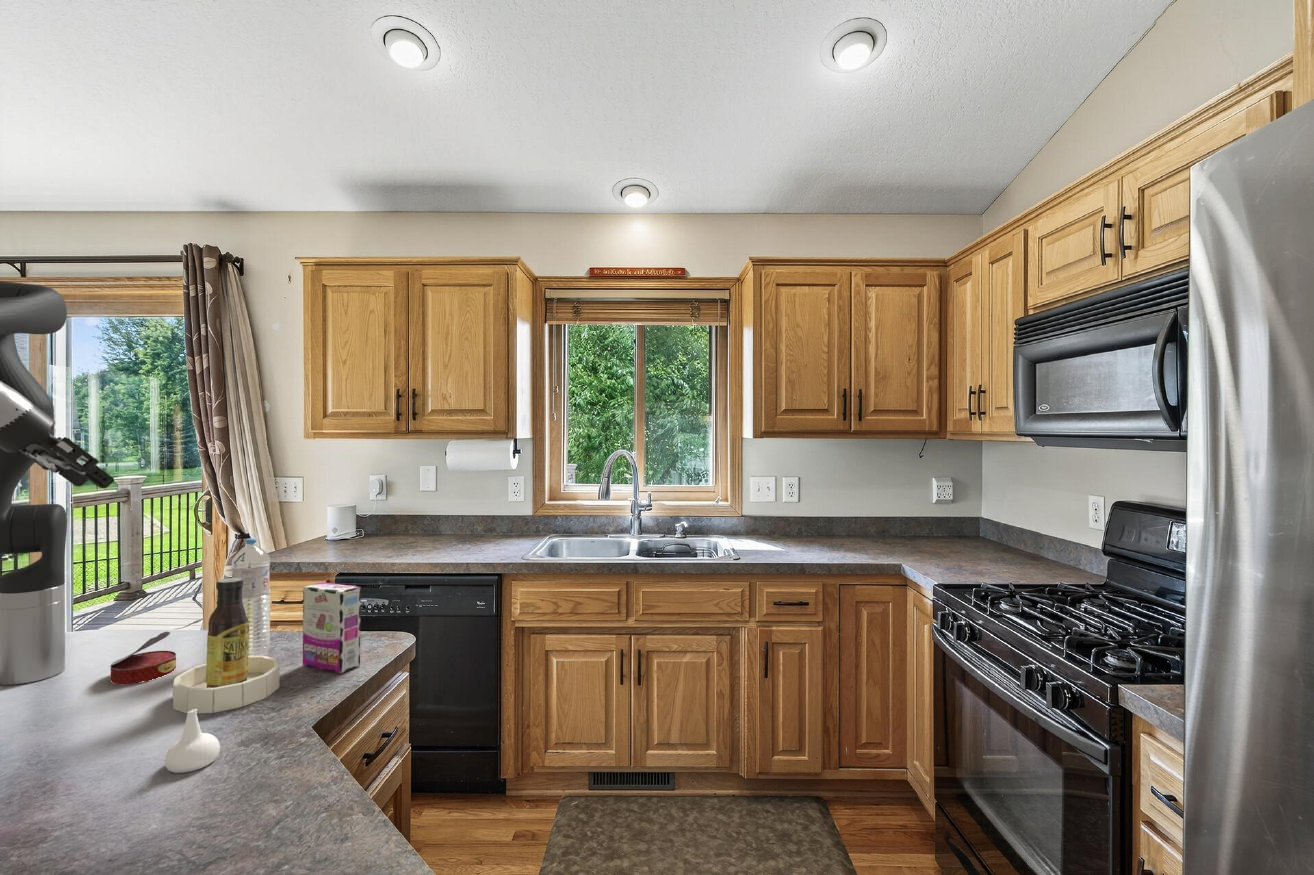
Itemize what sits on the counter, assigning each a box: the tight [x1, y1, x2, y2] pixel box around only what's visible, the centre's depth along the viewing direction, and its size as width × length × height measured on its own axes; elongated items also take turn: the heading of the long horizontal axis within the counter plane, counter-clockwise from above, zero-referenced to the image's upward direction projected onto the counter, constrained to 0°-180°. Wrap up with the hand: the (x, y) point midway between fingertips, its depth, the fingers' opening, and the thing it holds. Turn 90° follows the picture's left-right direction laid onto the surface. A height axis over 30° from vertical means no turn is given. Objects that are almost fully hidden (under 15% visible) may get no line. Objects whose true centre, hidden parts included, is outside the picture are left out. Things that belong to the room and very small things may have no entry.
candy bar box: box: [302, 581, 362, 674], centre depth 124 cm, size 11×5×16 cm, turn 68°
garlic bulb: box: [164, 709, 221, 774], centre depth 88 cm, size 6×6×8 cm
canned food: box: [109, 631, 177, 685], centre depth 119 cm, size 11×10×10 cm
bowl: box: [172, 655, 280, 714], centre depth 110 cm, size 16×16×4 cm
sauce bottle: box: [206, 577, 249, 688], centre depth 110 cm, size 7×6×20 cm
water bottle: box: [231, 538, 271, 656], centre depth 128 cm, size 7×7×25 cm
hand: (96, 483), depth 105 cm, fingers open, 8 cm apart
